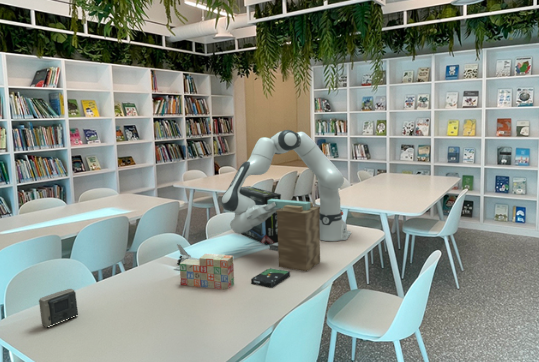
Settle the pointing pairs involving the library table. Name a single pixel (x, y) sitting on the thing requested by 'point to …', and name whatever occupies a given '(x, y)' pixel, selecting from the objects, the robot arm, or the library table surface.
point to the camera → (58, 307)
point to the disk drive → (270, 277)
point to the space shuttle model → (184, 257)
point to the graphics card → (273, 247)
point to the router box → (269, 227)
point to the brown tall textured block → (298, 237)
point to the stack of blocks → (208, 271)
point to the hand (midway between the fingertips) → (278, 202)
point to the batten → (289, 203)
